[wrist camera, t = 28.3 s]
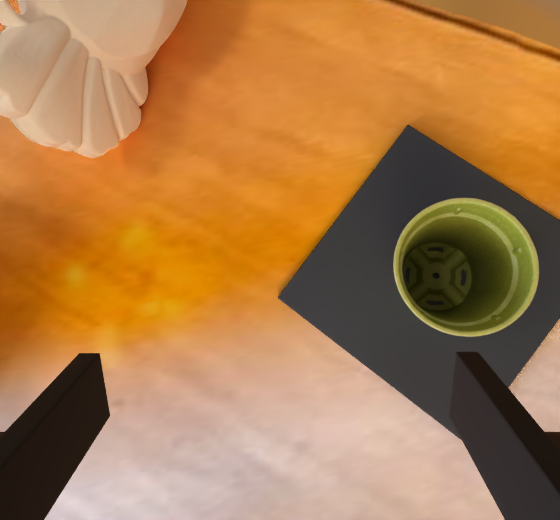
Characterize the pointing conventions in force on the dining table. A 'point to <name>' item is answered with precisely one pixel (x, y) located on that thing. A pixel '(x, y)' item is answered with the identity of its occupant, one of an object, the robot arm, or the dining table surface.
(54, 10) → the decorative rooster
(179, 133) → the dining table surface
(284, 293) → the placemat
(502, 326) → the plant pot
